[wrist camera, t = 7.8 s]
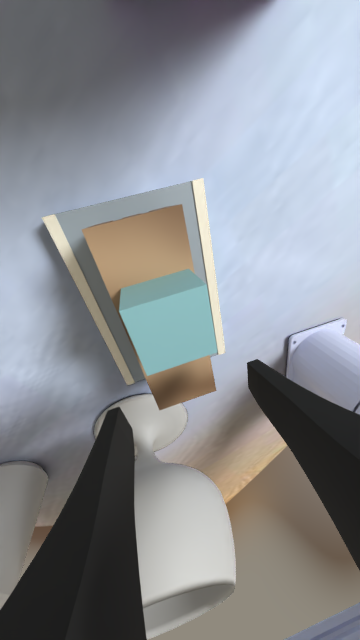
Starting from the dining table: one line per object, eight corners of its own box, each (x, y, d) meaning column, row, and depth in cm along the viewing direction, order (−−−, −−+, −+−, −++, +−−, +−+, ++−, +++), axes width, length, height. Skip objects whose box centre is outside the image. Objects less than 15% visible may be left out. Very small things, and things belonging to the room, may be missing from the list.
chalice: (209, 421, 30) (272, 580, 17) (132, 467, 31) (136, 651, 18) (157, 366, 23) (197, 568, 10) (59, 428, 24) (-23, 687, 11)
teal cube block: (200, 325, 13) (217, 352, 11) (143, 344, 13) (147, 376, 11) (188, 268, 11) (206, 284, 9) (120, 288, 11) (119, 311, 9)
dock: (219, 344, 23) (225, 352, 22) (127, 374, 22) (127, 385, 21) (196, 181, 15) (203, 178, 14) (50, 217, 14) (41, 217, 13)
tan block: (198, 354, 21) (216, 390, 17) (152, 369, 21) (159, 410, 16) (165, 207, 14) (182, 203, 10) (95, 224, 14) (81, 229, 9)
